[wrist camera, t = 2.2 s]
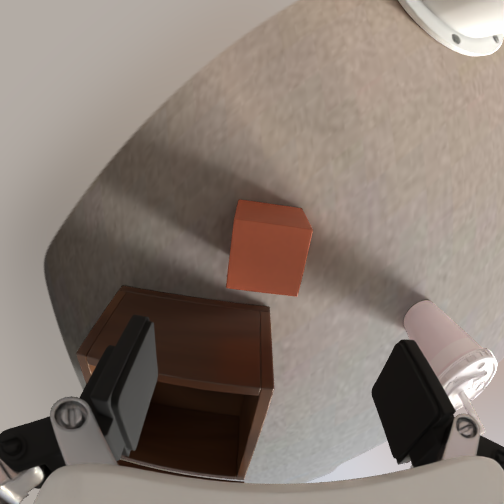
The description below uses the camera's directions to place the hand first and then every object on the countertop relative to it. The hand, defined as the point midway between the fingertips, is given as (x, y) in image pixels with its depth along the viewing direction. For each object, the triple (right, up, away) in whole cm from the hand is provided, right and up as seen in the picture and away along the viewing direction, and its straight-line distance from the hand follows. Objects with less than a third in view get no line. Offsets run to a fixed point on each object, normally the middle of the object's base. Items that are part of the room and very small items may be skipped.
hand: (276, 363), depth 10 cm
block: (0, +5, +11) cm, 12 cm away
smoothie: (+15, -2, +14) cm, 21 cm away
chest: (-7, -7, +17) cm, 19 cm away
